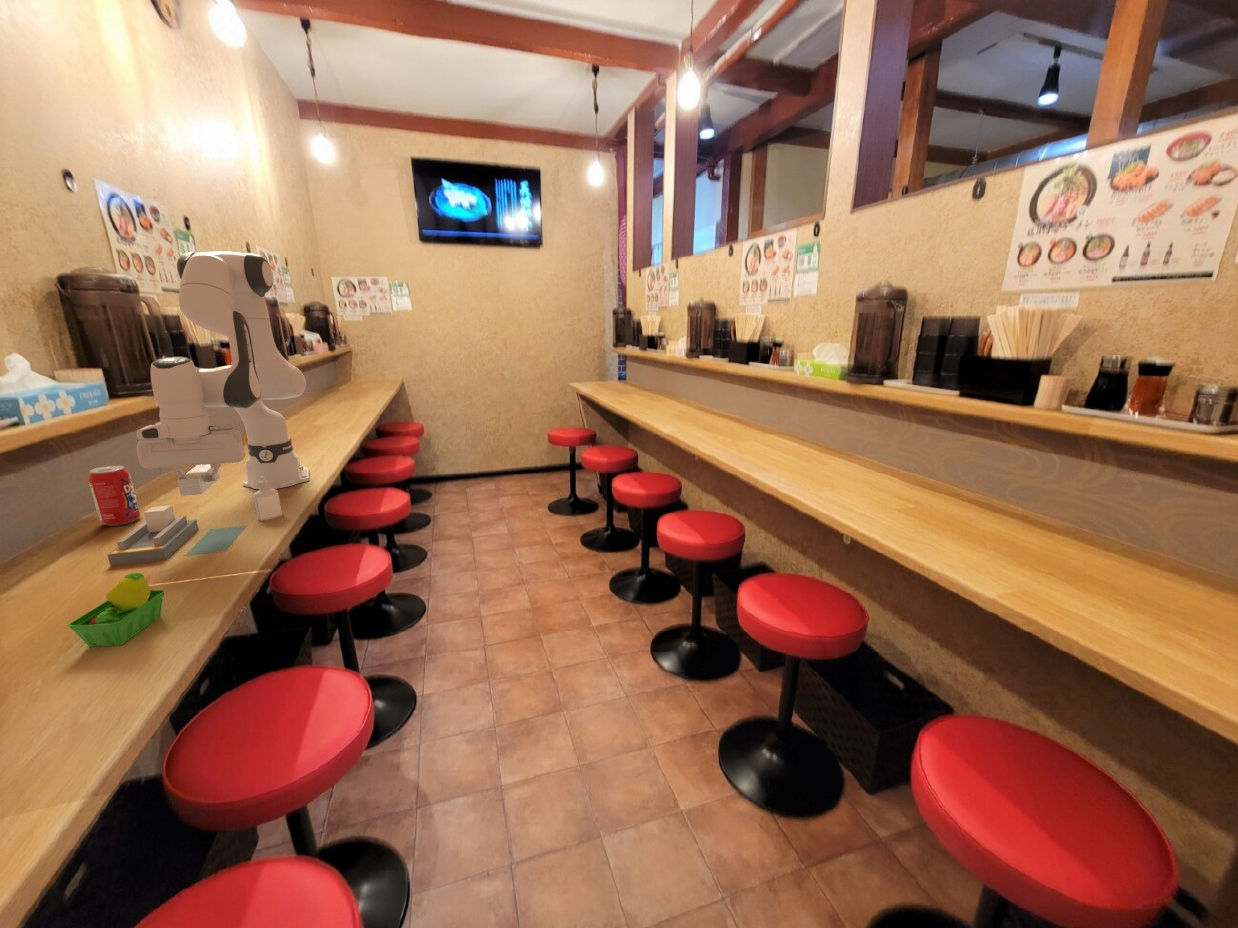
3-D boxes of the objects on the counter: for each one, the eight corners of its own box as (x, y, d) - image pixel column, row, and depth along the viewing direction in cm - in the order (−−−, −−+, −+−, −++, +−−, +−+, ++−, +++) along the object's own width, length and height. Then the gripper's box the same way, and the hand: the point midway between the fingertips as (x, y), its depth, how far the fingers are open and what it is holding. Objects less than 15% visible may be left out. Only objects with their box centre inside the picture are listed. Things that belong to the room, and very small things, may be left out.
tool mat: (211, 529, 131) (210, 528, 131) (247, 526, 134) (247, 525, 134) (184, 556, 117) (184, 555, 117) (225, 552, 119) (225, 551, 119)
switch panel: (150, 534, 128) (146, 516, 126) (198, 529, 131) (194, 512, 130) (110, 567, 112) (104, 546, 110) (166, 560, 115) (161, 540, 113)
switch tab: (156, 526, 125) (151, 506, 124) (176, 524, 126) (171, 505, 125) (148, 532, 122) (143, 512, 120) (169, 530, 123) (164, 510, 121)
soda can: (92, 526, 132) (76, 472, 127) (124, 515, 139) (110, 463, 135) (118, 528, 131) (103, 474, 126) (149, 517, 138) (135, 465, 134)
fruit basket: (129, 613, 95) (114, 560, 92) (180, 612, 96) (166, 558, 93) (73, 652, 84) (53, 593, 81) (130, 650, 85) (112, 591, 82)
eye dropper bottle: (280, 519, 139) (272, 478, 135) (256, 522, 137) (247, 480, 133) (283, 513, 143) (276, 473, 139) (260, 516, 141) (252, 475, 137)
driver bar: (201, 479, 129) (197, 465, 128) (219, 478, 130) (216, 463, 129) (180, 495, 118) (176, 479, 117) (201, 494, 120) (197, 478, 118)
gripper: (243, 422, 126) (253, 474, 130) (140, 426, 119) (155, 481, 123) (234, 427, 120) (246, 481, 125) (126, 432, 113) (142, 489, 118)
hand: (200, 481), depth 124 cm, fingers closed on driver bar, 4 cm apart
